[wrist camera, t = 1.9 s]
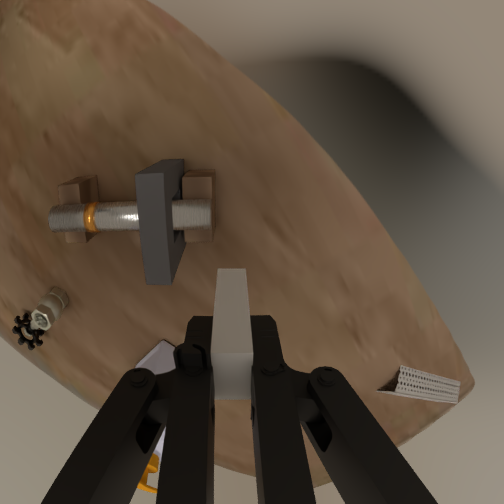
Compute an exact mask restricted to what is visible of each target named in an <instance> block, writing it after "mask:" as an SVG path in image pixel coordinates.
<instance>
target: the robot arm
mask: <svg viewBox="0 0 504 504" xmlns="http://www.w3.org/2000/svg"><path fill="white" fill-rule="evenodd" d="M173 357H174V362H175V367H176V368H175V369H173V370H171V371H169V372H166V373H161V374H156V375H155V374H154V373H153V372H152V371H151V370H149V369H147V368H140V367H139V368H133V369H131V370H129V371H127V372H126V373H125V374H124V375H123V377H122V378H121V380H120V381H119V382H118V384H117V385H116V387H115V388H114V390H113V391H112V393H111V394H110V396H109V397H108V399H107V400H106V402H105V403H104V405H103V406H102V408H101V409H100V411H99V412H98V414H97V415H96V417H95V418H94V420H93V421H92V423H91V424H90V426H89V427H88V429H87V431H86V432H85V433H84V435H83V437H82V438H81V440H80V442H79V443H78V444H77V446H76V448H75V449H74V451H73V452H72V454H71V455H70V457H69V459H68V460H67V462H66V463H65V465H64V467H63V468H62V470H61V471H60V473H59V474H58V476H57V478H56V479H55V481H54V483H53V484H52V486H51V488H50V489H49V491H48V492H47V494H46V496H45V497H44V499H43V501H42V503H41V504H129V503H130V501H131V499H132V497H133V495H134V492H135V490H136V488H137V486H138V484H139V482H140V480H141V478H142V475H143V473H144V471H145V469H146V467H147V465H148V463H149V461H150V458H151V456H152V454H153V452H154V450H155V448H156V446H157V444H158V442H159V439H160V437H161V435H162V433H163V431H164V429H165V427H166V429H165V436H164V443H163V450H162V457H161V464H160V472H159V480H158V489H157V498H156V504H214V431H215V405H214V398H215V399H251V420H252V429H253V443H254V456H255V469H256V482H257V494H258V504H316V500H315V495H314V490H313V485H312V480H311V475H310V470H309V464H308V459H307V455H306V450H305V445H304V440H303V435H302V430H301V425H302V427H303V429H304V430H305V432H306V434H307V436H308V438H309V440H310V442H311V443H312V445H313V447H314V449H315V451H316V453H317V454H318V456H319V458H320V460H321V462H322V463H323V465H324V467H325V469H326V471H327V472H328V474H329V476H330V478H331V479H332V481H333V483H334V485H335V486H336V488H337V490H338V492H339V493H340V495H341V497H342V499H343V500H344V502H345V504H438V503H437V502H436V500H435V499H434V497H433V496H432V495H431V493H430V492H429V491H428V489H427V488H426V487H425V485H424V484H423V483H422V481H421V480H420V479H419V477H418V476H417V475H416V473H415V472H414V470H413V469H412V468H411V466H410V465H409V464H408V462H407V461H406V460H405V458H404V457H403V456H402V454H401V453H400V452H399V450H398V449H397V447H396V446H395V445H394V443H393V442H392V441H391V439H390V438H389V437H388V435H387V434H386V433H385V431H384V430H383V429H382V427H381V426H380V425H379V423H378V422H377V420H376V419H375V418H374V416H373V415H372V414H371V412H370V411H369V410H368V408H367V407H366V406H365V404H364V403H363V402H362V400H361V399H360V398H359V396H358V395H357V393H356V392H355V391H354V389H353V388H352V387H351V385H350V384H349V383H348V381H347V380H346V379H345V377H344V376H343V375H342V373H340V372H339V371H338V370H337V369H334V368H332V367H326V366H324V367H318V368H316V369H314V370H313V371H312V372H311V373H304V372H299V371H295V370H293V369H291V368H290V367H289V366H287V364H286V363H285V362H284V359H283V355H282V350H281V345H280V340H279V335H278V331H277V325H276V322H275V320H274V319H273V318H272V317H271V316H270V315H257V316H250V311H249V300H248V289H247V277H246V269H218V272H217V283H216V293H215V304H214V316H193V317H192V319H191V320H190V321H189V322H188V325H187V332H186V336H185V341H184V343H182V344H180V345H178V346H177V347H176V348H175V349H174V351H173ZM300 423H301V425H300Z"/></svg>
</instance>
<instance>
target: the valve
mask: <svg viewBox="0 0 504 504" xmlns="http://www.w3.org/2000/svg"><path fill="white" fill-rule="evenodd" d="M68 302H69V301H68V298H67V296H66V293H65V291H63V290H61V289H59V288H57V287H54V288H53V289H52V290H51V292H50V293H49V294H46V295H44V296H43V297H42V298H41V299H40V301H39V303H38V307H37V308H36V309H35V310H34V312H33V313H32V314H31V316H32V319H33V320H32V321H31V320H29V319H28V318H29V314H28V313H25V314H24V315H23V320H20V316H16V318H15V319H14V321H15V323H16V324H18V327H16V326H14V327H13V329H12V331H13V333H14V334H19V336H20V338H19V339H18V343H19V344H20V345H23V344H24V342H25V343H27V344H28V348H29V350H33V349H34V348H35V345H33V344H34V343H36V345H37V346H41V345H42V344H43V341H42V340H39V336H42V335H43V334H44V330H46V331H47V330H48V329H49V328H50V327H51V326H52V324H53V323H54V322H55V321H57V320H58V319H59V318H60V317H61V315H62V313H63V309H64V308H65V306H66V305H67V304H68ZM24 323H28V324H24ZM22 327H24V328H25V329H24V332H25V334H26V335H27V336H31V335H32V336H33V339H32V340H28V339H27V338H25V337H24V336H23V334H22V332H21V328H22ZM38 328H41V329H40V330H38Z"/></svg>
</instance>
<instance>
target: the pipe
mask: <svg viewBox="0 0 504 504" xmlns="http://www.w3.org/2000/svg"><path fill="white" fill-rule="evenodd" d="M172 216H173V230H211V228H212V200H211V199H195V200H172ZM48 221H49V226H50V229H51V230H52V231H53V232H101V231H139V221H138V210H137V201H123V202H103V203H101V202H89V203H86V204H71V205H58V206H53V207H52V208H51V210H50V212H49V217H48Z"/></svg>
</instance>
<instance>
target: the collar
mask: <svg viewBox="0 0 504 504" xmlns="http://www.w3.org/2000/svg"><path fill="white" fill-rule="evenodd" d="M183 176H184V159H169V160H161V161H159V162H157V163H155V164H153V165H152V166H150V167H148V168H146V169H144V170H142V171H140V172H138V173H136V174H135V183H136V198H137V210H138V221H139V231H140V240H141V248H142V256H143V264H144V271H145V278H146V284H148V285H172V282H173V280H174V277H175V274H176V271H177V268H178V265H179V262H180V259H181V257H182V254H183V251H184V248H185V245H186V242H185V236H184V230H173V216H172V200H183V190H182V177H183Z"/></svg>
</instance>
